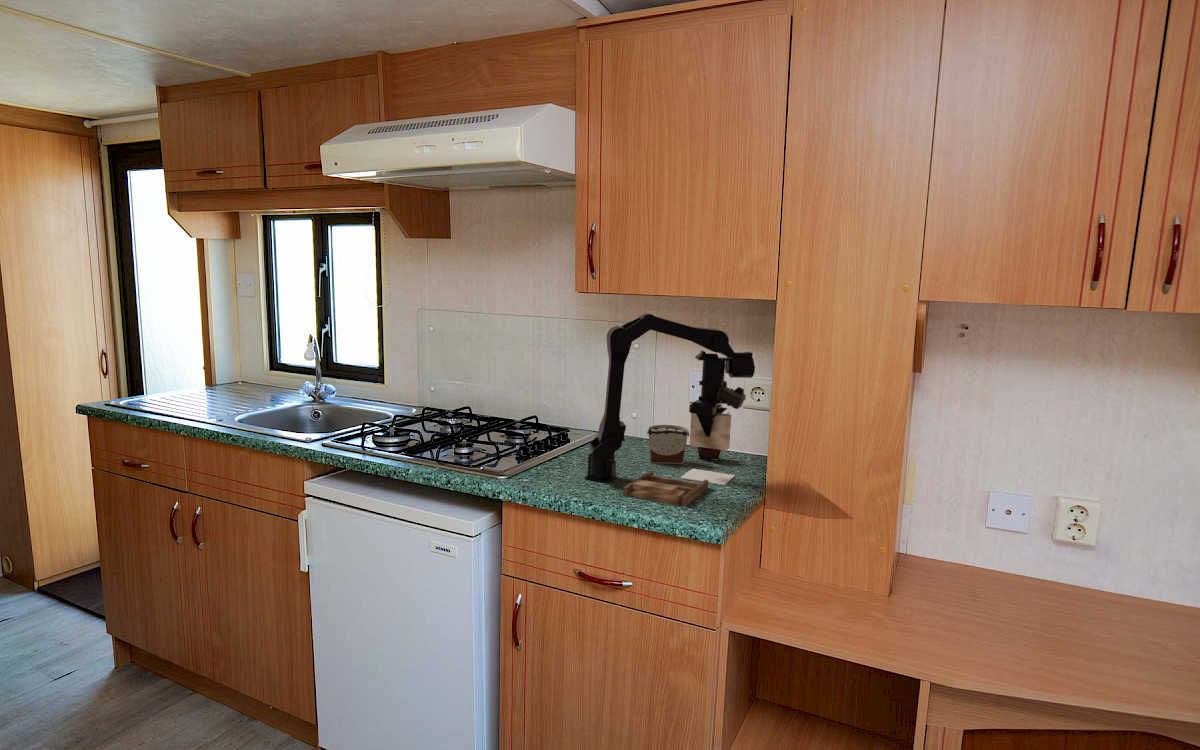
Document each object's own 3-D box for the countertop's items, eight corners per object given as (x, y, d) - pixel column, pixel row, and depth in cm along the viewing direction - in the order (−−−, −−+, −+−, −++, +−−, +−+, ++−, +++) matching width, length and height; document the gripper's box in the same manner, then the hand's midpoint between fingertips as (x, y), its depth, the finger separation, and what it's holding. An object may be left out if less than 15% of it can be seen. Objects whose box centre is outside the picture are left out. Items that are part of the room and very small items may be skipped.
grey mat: (680, 478, 188) (680, 477, 188) (692, 469, 197) (692, 468, 197) (724, 485, 183) (724, 484, 183) (734, 476, 191) (735, 475, 191)
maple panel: (689, 445, 189) (691, 412, 188) (693, 442, 192) (695, 410, 191) (726, 450, 185) (728, 416, 184) (729, 448, 188) (731, 414, 186)
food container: (685, 458, 209) (686, 424, 207) (688, 463, 203) (690, 429, 201) (643, 457, 208) (644, 424, 207) (645, 463, 202) (646, 428, 201)
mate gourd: (694, 456, 211) (696, 407, 209) (720, 456, 212) (723, 407, 210) (700, 463, 204) (703, 412, 202) (727, 463, 205) (730, 412, 202)
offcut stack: (627, 497, 172) (628, 483, 171) (635, 492, 176) (636, 478, 176) (678, 506, 166) (679, 492, 166) (685, 501, 171) (686, 486, 170)
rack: (622, 495, 172) (623, 487, 172) (649, 478, 187) (650, 470, 187) (685, 506, 165) (685, 498, 165) (708, 487, 180) (708, 480, 180)
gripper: (733, 384, 174) (729, 446, 176) (752, 376, 190) (749, 432, 193) (690, 380, 179) (686, 440, 181) (712, 372, 195) (709, 427, 198)
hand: (709, 435), depth 188 cm, fingers closed on maple panel, 3 cm apart
